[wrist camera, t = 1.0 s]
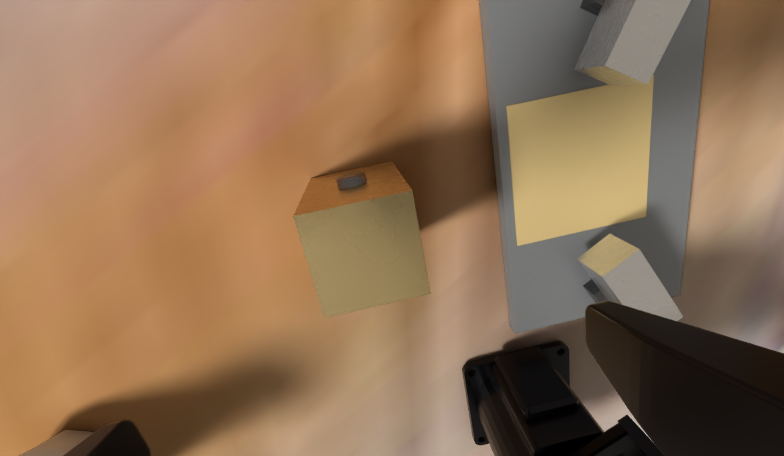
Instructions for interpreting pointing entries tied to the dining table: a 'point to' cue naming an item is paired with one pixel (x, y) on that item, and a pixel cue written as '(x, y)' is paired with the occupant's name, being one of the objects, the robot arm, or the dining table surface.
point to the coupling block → (362, 239)
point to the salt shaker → (59, 444)
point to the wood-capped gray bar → (622, 68)
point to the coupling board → (585, 153)
